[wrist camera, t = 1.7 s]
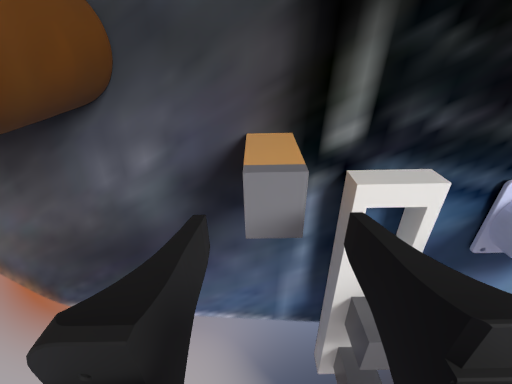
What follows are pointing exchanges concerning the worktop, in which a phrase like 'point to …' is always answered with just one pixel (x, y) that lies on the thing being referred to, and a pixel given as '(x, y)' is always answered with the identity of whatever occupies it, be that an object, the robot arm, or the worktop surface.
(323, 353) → the pdu strip
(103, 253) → the worktop surface
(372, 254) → the robot arm
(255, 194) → the plug
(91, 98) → the mug
